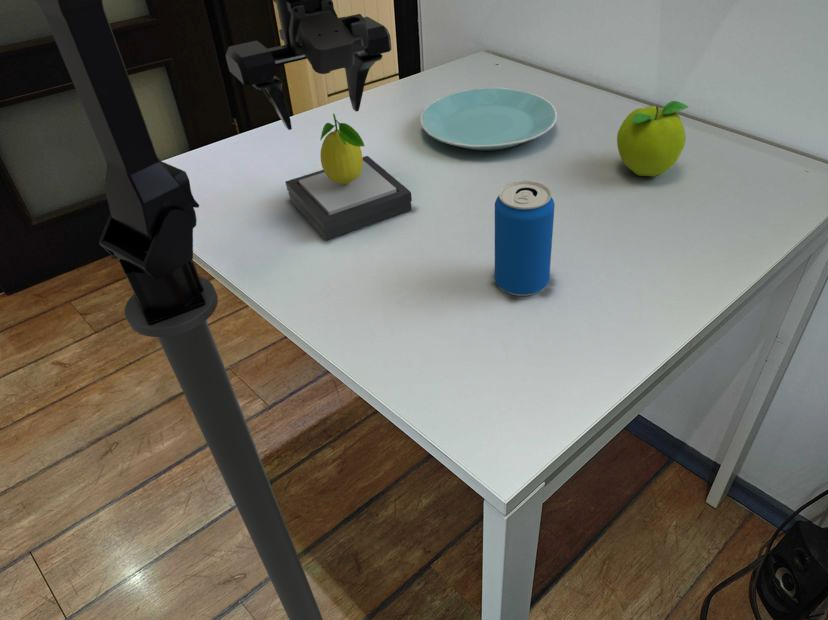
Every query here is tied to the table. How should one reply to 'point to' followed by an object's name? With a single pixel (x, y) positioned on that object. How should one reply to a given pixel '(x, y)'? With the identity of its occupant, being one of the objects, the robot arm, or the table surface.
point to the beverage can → (523, 237)
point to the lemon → (341, 153)
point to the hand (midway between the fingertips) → (323, 119)
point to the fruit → (652, 139)
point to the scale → (353, 216)
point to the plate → (488, 118)
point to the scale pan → (346, 190)
